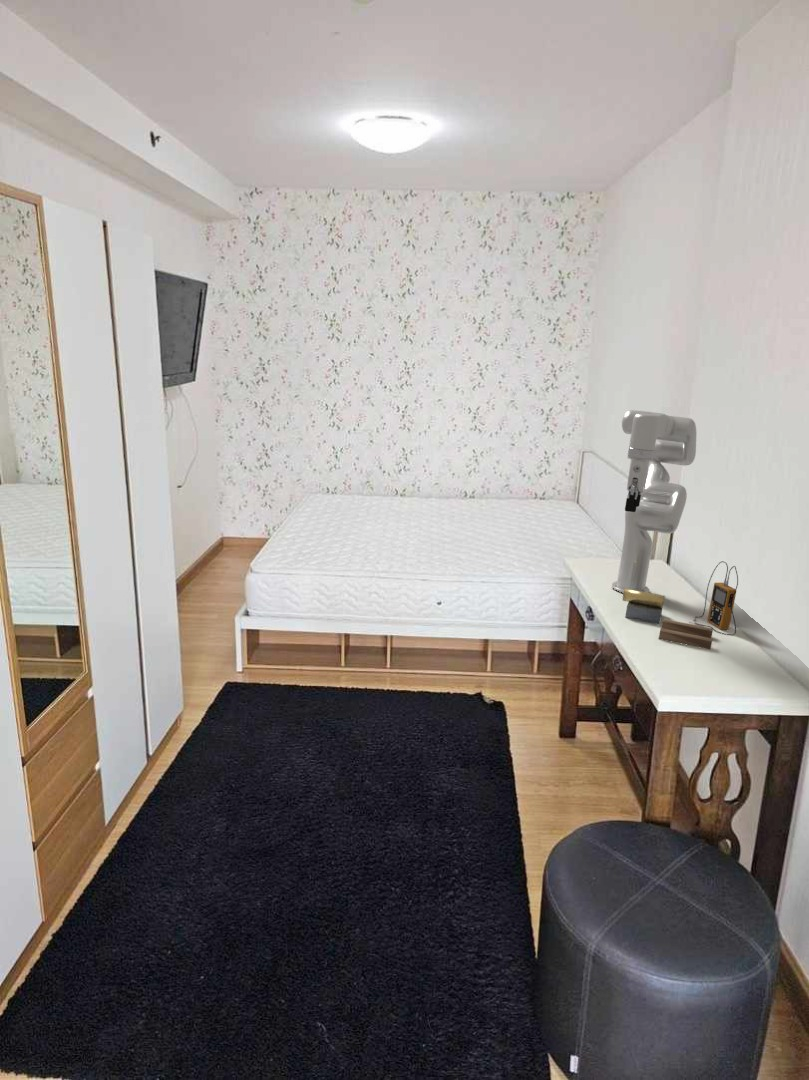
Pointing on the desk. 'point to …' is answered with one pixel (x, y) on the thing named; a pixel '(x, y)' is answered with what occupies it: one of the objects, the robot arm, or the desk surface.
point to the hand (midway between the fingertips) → (631, 508)
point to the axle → (643, 598)
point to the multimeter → (721, 604)
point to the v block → (643, 612)
